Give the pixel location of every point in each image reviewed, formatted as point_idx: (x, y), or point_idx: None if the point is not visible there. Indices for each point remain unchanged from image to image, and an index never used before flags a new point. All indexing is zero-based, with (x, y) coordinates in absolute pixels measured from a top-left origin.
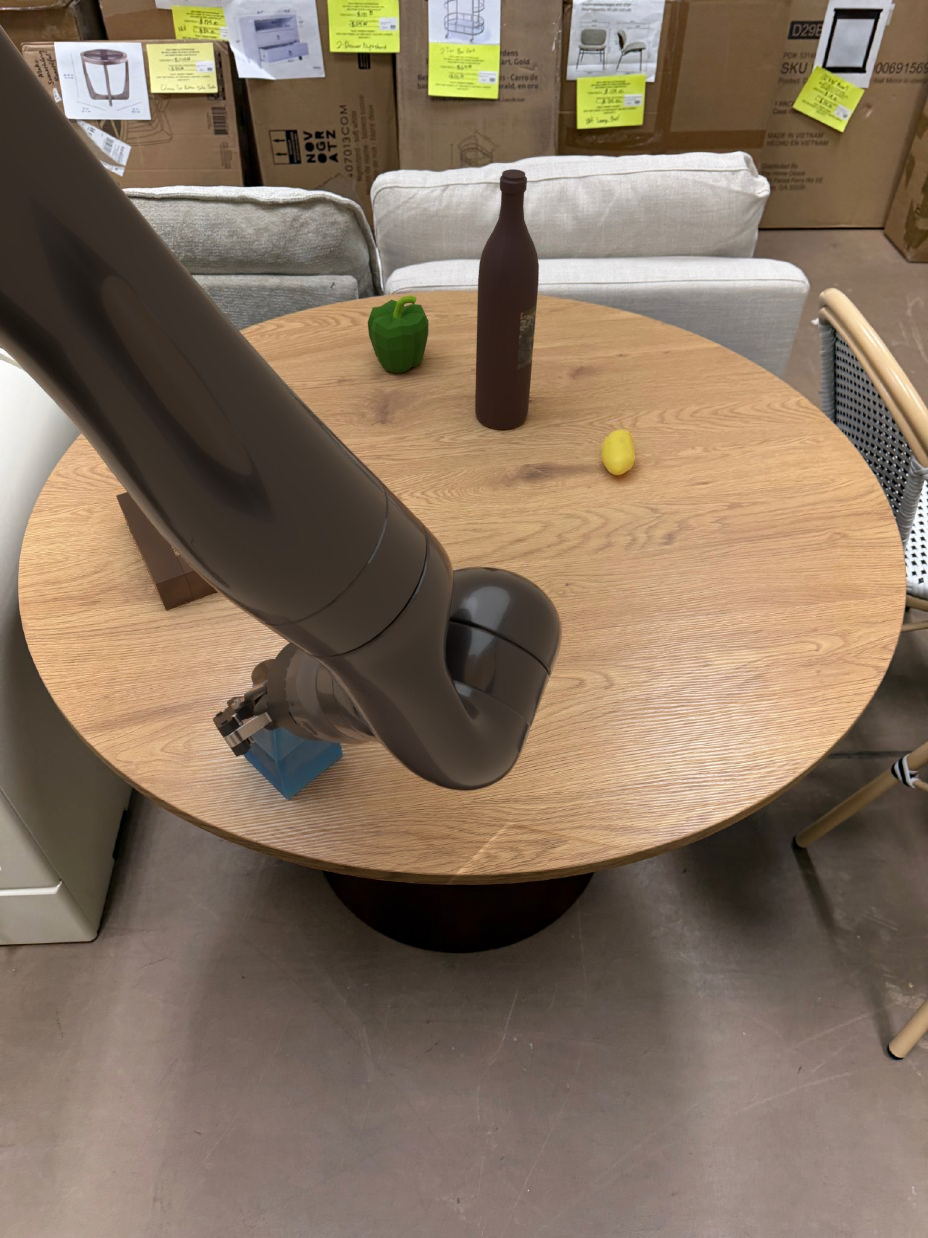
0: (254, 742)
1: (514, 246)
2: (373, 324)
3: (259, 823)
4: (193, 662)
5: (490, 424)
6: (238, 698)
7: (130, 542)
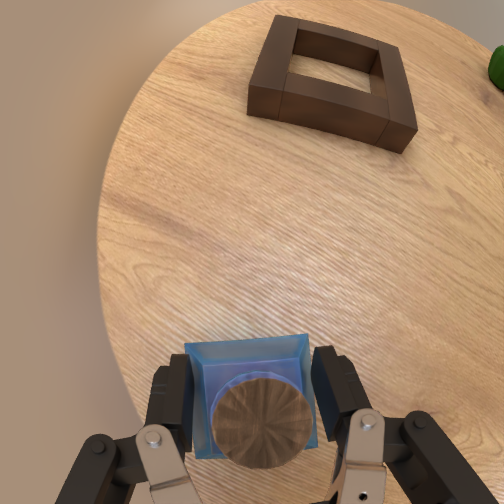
0: None
1: None
2: (501, 52)
3: None
4: (230, 184)
5: None
6: (157, 439)
7: None
